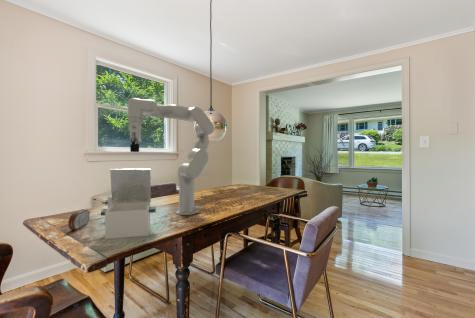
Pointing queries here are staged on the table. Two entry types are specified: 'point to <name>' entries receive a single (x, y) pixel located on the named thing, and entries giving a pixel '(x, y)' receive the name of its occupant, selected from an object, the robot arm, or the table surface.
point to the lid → (130, 185)
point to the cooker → (127, 220)
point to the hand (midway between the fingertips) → (134, 151)
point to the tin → (78, 219)
